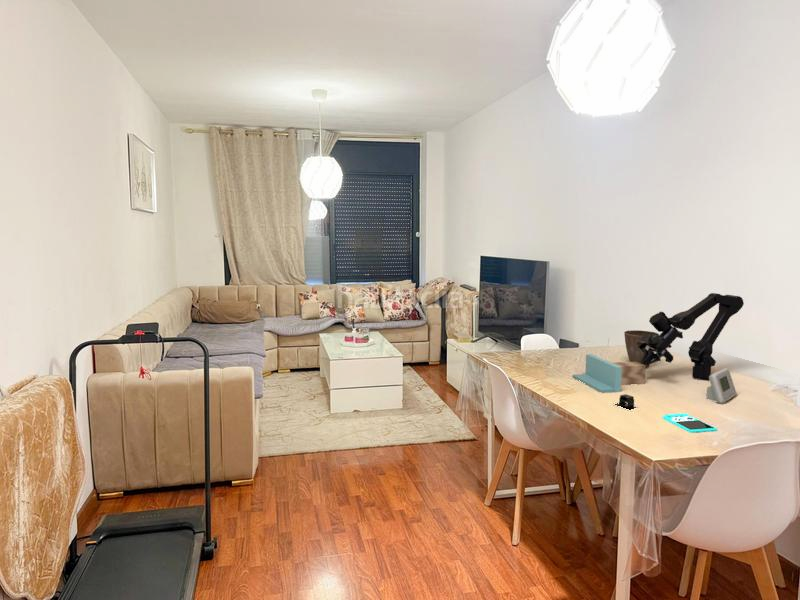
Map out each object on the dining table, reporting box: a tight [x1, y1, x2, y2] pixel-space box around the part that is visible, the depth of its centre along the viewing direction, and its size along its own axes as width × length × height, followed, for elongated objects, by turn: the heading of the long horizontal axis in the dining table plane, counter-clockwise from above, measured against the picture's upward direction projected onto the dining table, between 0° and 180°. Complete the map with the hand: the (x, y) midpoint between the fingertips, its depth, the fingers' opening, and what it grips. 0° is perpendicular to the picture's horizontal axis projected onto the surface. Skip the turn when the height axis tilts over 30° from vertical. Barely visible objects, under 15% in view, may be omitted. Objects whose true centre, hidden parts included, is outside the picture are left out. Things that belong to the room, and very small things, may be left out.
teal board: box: [571, 353, 622, 394], centre depth 237 cm, size 8×24×10 cm, turn 10°
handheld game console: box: [662, 412, 718, 434], centre depth 190 cm, size 10×16×1 cm, turn 10°
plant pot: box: [624, 329, 660, 369], centre depth 266 cm, size 15×15×16 cm
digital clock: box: [705, 367, 737, 404], centre depth 216 cm, size 16×9×11 cm, turn 122°
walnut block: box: [612, 361, 647, 386], centre depth 239 cm, size 16×7×8 cm, turn 100°
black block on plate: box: [614, 394, 637, 411], centre depth 208 cm, size 12×7×5 cm, turn 26°
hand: (640, 366), depth 240 cm, fingers closed, pressing on walnut block
